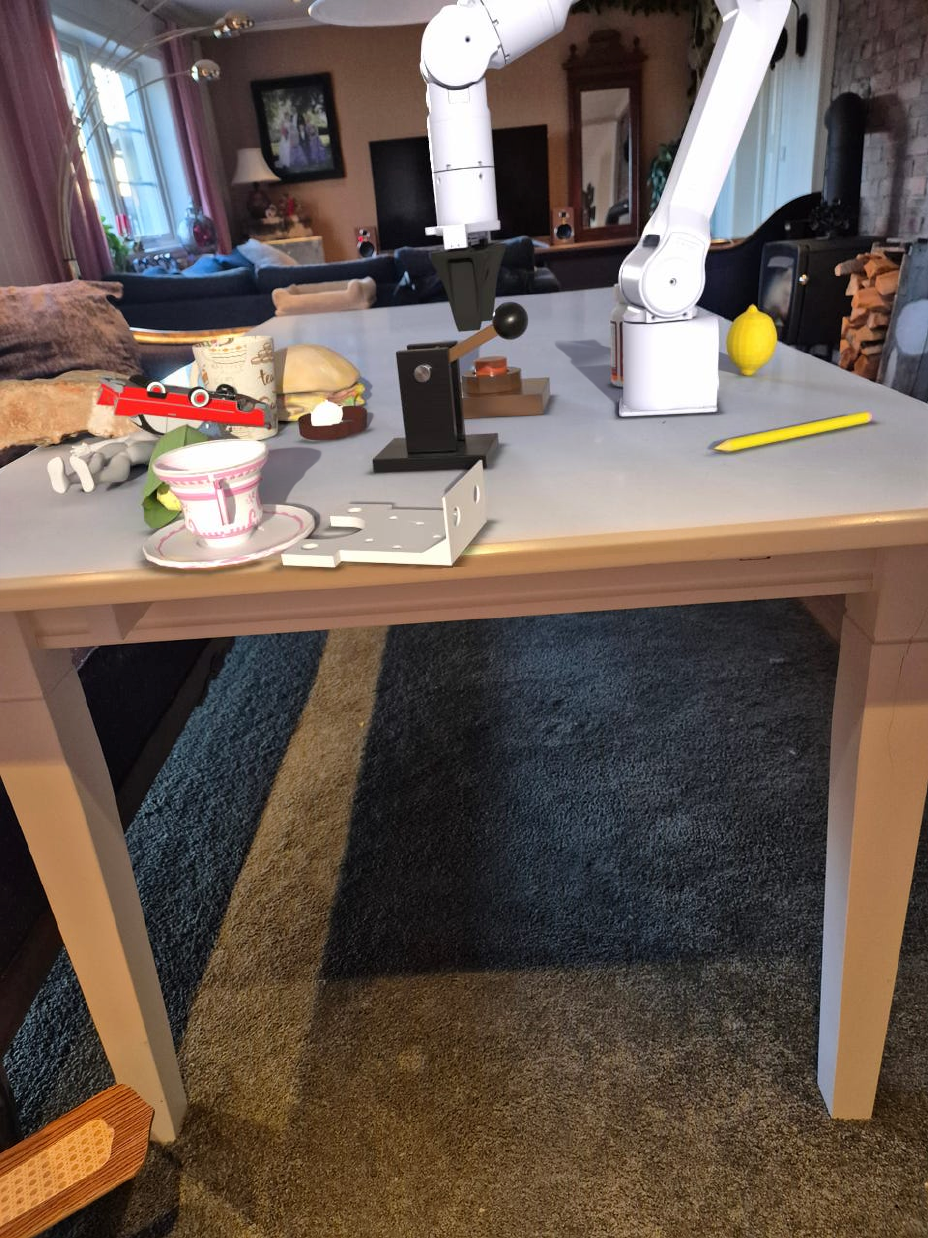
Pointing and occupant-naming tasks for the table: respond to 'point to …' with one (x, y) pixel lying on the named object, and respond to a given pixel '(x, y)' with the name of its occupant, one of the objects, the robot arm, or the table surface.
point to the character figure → (105, 461)
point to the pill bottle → (617, 337)
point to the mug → (240, 378)
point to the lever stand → (433, 416)
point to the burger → (313, 380)
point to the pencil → (794, 431)
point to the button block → (503, 394)
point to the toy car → (176, 404)
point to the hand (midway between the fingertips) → (475, 325)
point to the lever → (495, 329)
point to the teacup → (221, 508)
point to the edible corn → (156, 492)
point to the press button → (490, 365)
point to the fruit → (751, 340)
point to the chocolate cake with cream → (332, 421)
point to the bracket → (401, 531)
